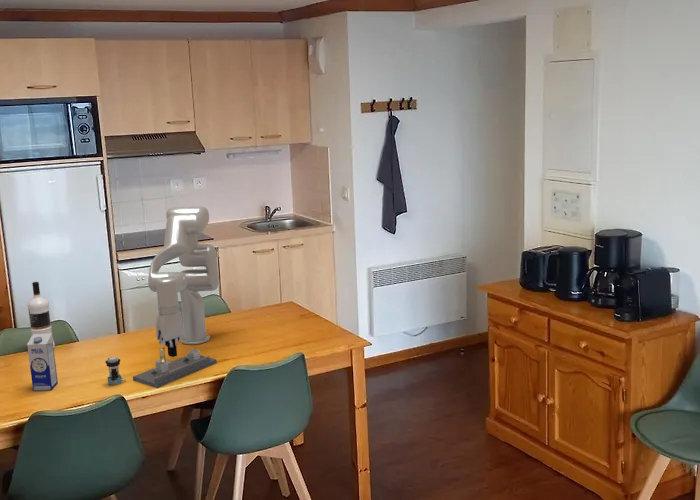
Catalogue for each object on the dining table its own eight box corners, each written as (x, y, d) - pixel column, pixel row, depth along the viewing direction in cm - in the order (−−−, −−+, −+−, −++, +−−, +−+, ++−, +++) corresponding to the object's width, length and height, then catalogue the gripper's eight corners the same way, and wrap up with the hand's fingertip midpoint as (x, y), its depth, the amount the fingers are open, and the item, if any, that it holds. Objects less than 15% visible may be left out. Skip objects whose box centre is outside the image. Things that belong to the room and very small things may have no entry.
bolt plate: (133, 380, 284) (131, 364, 283) (192, 356, 307) (191, 341, 306) (157, 388, 276) (155, 371, 274) (216, 363, 299) (215, 347, 298)
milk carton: (58, 383, 284) (52, 332, 279) (52, 390, 277) (45, 338, 273) (39, 384, 283) (33, 333, 279) (32, 391, 277) (26, 339, 273)
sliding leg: (149, 373, 286) (147, 346, 284) (156, 370, 288) (153, 344, 286) (165, 377, 281) (162, 350, 278) (171, 375, 283) (169, 348, 281)
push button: (124, 379, 286) (122, 354, 283) (127, 383, 281) (125, 358, 279) (106, 382, 283) (103, 357, 280) (109, 387, 278) (106, 361, 276)
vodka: (55, 351, 320) (46, 283, 313) (31, 354, 317) (22, 285, 310) (55, 344, 328) (47, 278, 322) (32, 347, 325) (24, 280, 319)
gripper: (177, 303, 290) (181, 348, 294) (146, 313, 278) (150, 360, 282) (190, 306, 286) (194, 351, 289) (159, 316, 274) (163, 363, 278)
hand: (172, 355), depth 286 cm, fingers closed
